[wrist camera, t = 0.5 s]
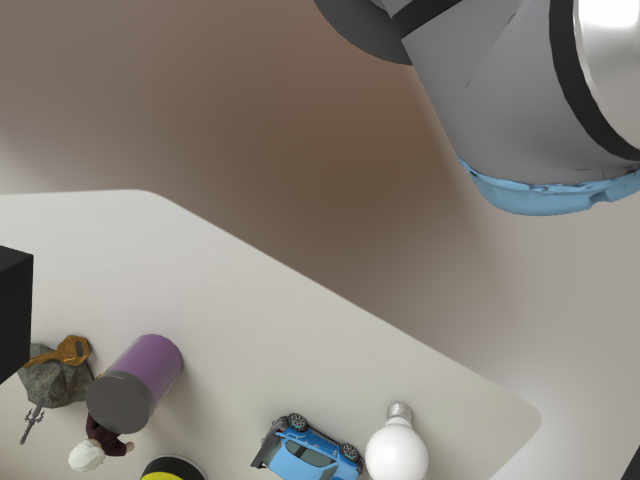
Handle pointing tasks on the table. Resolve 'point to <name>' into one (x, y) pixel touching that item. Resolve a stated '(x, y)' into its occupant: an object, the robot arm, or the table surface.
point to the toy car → (306, 453)
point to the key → (64, 353)
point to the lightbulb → (397, 449)
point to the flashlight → (172, 469)
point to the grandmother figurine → (97, 447)
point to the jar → (134, 384)
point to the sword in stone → (52, 384)
